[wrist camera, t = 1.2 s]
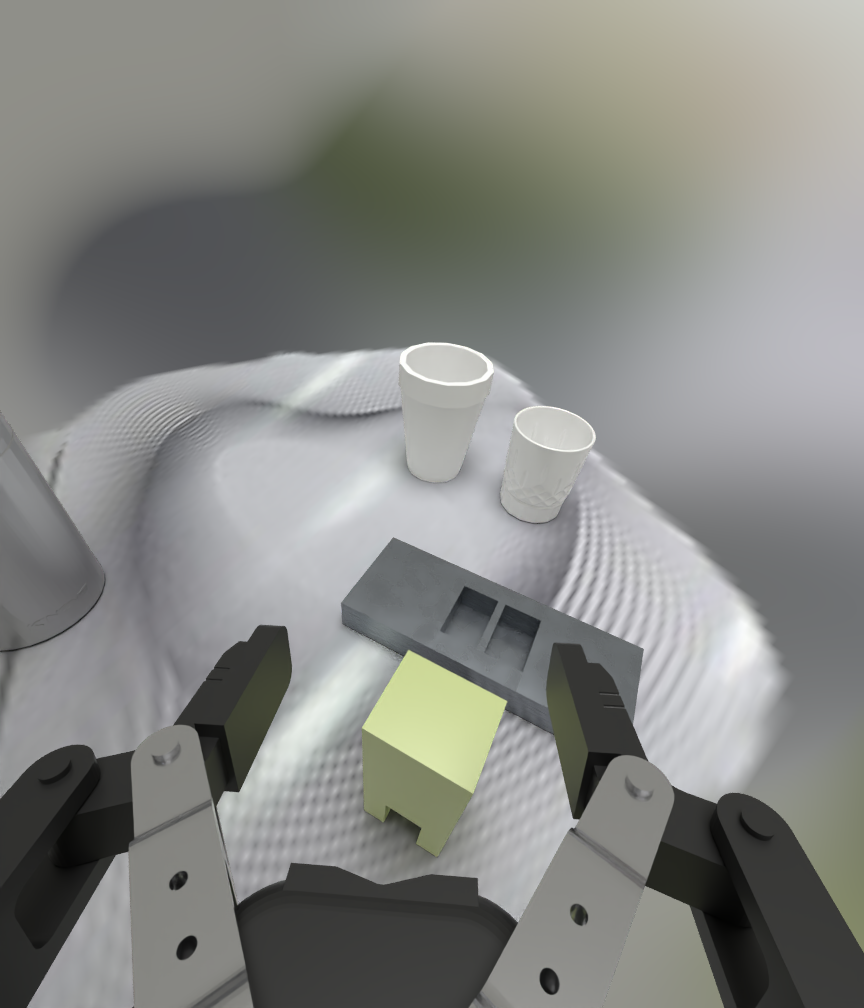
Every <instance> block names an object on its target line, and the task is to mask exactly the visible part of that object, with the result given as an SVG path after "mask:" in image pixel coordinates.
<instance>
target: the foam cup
mask: <svg viewBox="0 0 864 1008" xmlns="http://www.w3.org/2000/svg"><path fill="white" fill-rule="evenodd" d="M493 374H494V370H493V365H492V362H491V361H490V360H489V359H487V358H486V357H485V356H484V355H483V354H482V353H479V352H477V351H475V350H472V349H470V348H468V347H464V346H459V345H454V344H449V343H424V344H420V345H415V346H411V347H410V348H408V349H407V350H405V351H404V352H402V353H401V357H400V365H399V386H400V387H401V397H402V409H403V421H404V433H405V445H406V456H407V463H408V469H409V470H410V472H411V473H412V475H414V476H416V477H417V478H419V479H421V480H423V481H428V482H432V483H439V482H447V481H449V480H451V479H454V478H455V477H456V476H457V474H458V473H459V472H460V469H461V467H462V464H463V461H464V458H465V456H466V453H467V450H468V447H469V444H470V441H471V439H472V436H473V433H474V430H475V427H476V424H477V422H478V419H479V416H480V413H481V410H482V407H483V405H484V402H485V399H486V397H487V396H488V395H489V393H490V388H491V384H492V379H493Z"/></svg>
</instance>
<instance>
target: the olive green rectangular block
mask: <svg viewBox="0 0 864 1008" xmlns="http://www.w3.org/2000/svg"><path fill="white" fill-rule="evenodd" d="M506 703H507V701H506V700H504V699H502V698H500V697H498V696H496V695H495V694H493V693H491V692H489V691H487V690H485V689H483V688H481V687H479V686H477V685H475V684H473V683H471V682H469V681H468V680H466V679H464V678H462V677H460V676H458V675H456V674H454V673H452V672H450V671H448V670H446V669H444V668H442V667H441V666H439V665H437V664H435V663H433V662H431V661H429V660H427V659H425V658H423V657H421V656H419V655H417V654H415V653H414V652H412V651H410V650H408V652H407V653H406V655H405V657H404V658H403V660H402V662H401V663H400V665H399V667H398V668H397V670H396V672H395V673H394V675H393V677H392V678H391V680H390V682H389V683H388V685H387V687H386V689H385V690H384V692H383V694H382V695H381V697H380V699H379V700H378V702H377V704H376V705H375V707H374V709H373V710H372V712H371V714H370V715H369V717H368V719H367V720H366V722H365V724H364V725H363V727H362V749H363V788H364V810H365V811H366V812H368V813H369V814H371V815H372V816H374V817H376V818H377V819H379V820H380V821H382V822H383V823H384V822H385V819H386V817H387V815H388V813H389V811H390V809H392V810H394V811H396V812H397V813H399V814H400V815H402V816H403V817H405V818H407V819H408V820H410V821H411V822H413V823H414V824H416V825H418V826H419V827H421V831H420V834H419V837H418V840H417V842H416V844H417V845H419V846H420V847H422V848H423V849H425V850H426V851H428V852H429V853H431V854H433V855H434V856H436V857H438V855H439V854H440V852H441V850H442V848H443V847H444V845H445V843H446V841H447V839H448V838H449V836H450V834H451V832H452V831H453V829H454V827H455V825H456V823H457V822H458V820H459V818H460V816H461V815H462V813H463V811H464V809H465V807H466V806H467V804H468V802H469V800H470V799H471V797H472V795H473V793H474V790H475V788H476V785H477V782H478V779H479V777H480V774H481V771H482V769H483V766H484V763H485V760H486V758H487V755H488V752H489V750H490V747H491V744H492V741H493V739H494V736H495V733H496V731H497V728H498V725H499V722H500V720H501V717H502V714H503V712H504V709H505V706H506Z"/></svg>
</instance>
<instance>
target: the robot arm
mask: <svg viewBox="0 0 864 1008" xmlns="http://www.w3.org/2000/svg"><path fill="white" fill-rule="evenodd" d="M104 583H105V576H104V572H103V569H102V567H101V565H100V563H99V562H98V560H97V559H96V557H95V556H94V554H93V553H92V551H91V550H90V548H89V546H88V545H87V543H86V542H85V540H84V539H83V537H82V535H81V534H80V532H79V531H78V529H77V527H76V526H75V524H74V523H73V521H72V520H71V518H70V517H69V515H68V514H67V512H66V510H65V509H64V507H63V506H62V504H61V503H60V501H59V500H58V498H57V497H56V495H55V494H54V492H53V490H52V489H51V487H50V486H49V484H48V483H47V481H46V480H45V478H44V477H43V475H42V474H41V472H40V470H39V469H38V467H37V466H36V464H35V463H34V461H33V460H32V458H31V457H30V455H29V453H28V452H27V450H26V449H25V447H24V446H23V444H22V443H21V441H20V440H19V438H18V437H17V435H16V433H15V432H14V431H13V429H12V427H11V426H10V424H9V423H8V422H7V420H6V419H5V417H4V416H3V414H2V412H1V411H0V651H1V650H13V649H18V648H22V647H26V646H31V645H33V644H36V643H39V642H41V641H44V640H47V639H49V638H51V637H53V636H55V635H57V634H58V633H60V632H62V631H64V630H65V629H67V628H68V627H70V626H71V625H73V624H74V623H76V622H77V621H78V620H79V619H80V618H81V617H83V616H84V615H85V614H86V613H87V612H88V611H89V610H90V609H91V607H92V606H93V605H94V604H95V603H96V601H97V600H98V598H99V596H100V594H101V593H102V590H103V586H104ZM291 673H292V663H291V656H290V648H289V640H288V633H287V629H286V627H285V626H272V625H259V626H258V627H257V628H256V629H255V631H254V633H253V634H252V636H251V637H250V639H249V640H248V642H243V641H239V642H238V643H236V644H235V645H234V646H233V647H231V648H230V649H229V650H227V651H226V652H225V653H224V654H223V655H222V657H221V658H220V659H219V661H218V662H217V664H216V665H215V667H214V670H212V671H211V672H210V674H209V675H208V677H207V678H206V681H204V682H203V684H202V685H201V686H200V688H199V689H198V691H197V692H196V694H195V695H194V696H193V698H192V699H191V701H190V702H189V704H188V705H187V706H186V708H185V709H184V711H183V712H182V713H181V715H180V716H179V718H178V719H177V721H176V722H175V723H174V725H173V726H169V727H166V728H163V729H161V730H159V731H157V732H155V733H154V734H152V735H151V736H149V737H148V738H147V739H145V740H144V741H143V742H142V743H141V744H140V745H139V746H138V748H137V749H136V750H134V751H130V752H126V753H121V754H117V755H112V756H107V757H103V758H98V759H96V758H95V755H94V753H93V751H92V749H91V748H89V747H88V746H85V745H70V746H66V747H63V748H60V749H57V750H55V751H53V752H51V753H49V754H47V755H45V756H43V757H42V758H40V759H39V760H37V761H36V762H35V763H34V764H32V765H31V766H30V767H29V768H28V769H27V770H26V771H25V772H24V773H23V774H22V775H21V776H20V778H19V779H18V780H17V781H16V782H15V783H14V784H13V785H12V787H11V788H10V789H9V790H8V791H7V792H6V793H5V794H4V796H3V797H2V798H1V799H0V1008H27V1006H28V1004H29V1002H30V1001H31V999H32V997H33V996H34V994H35V992H36V991H37V989H38V987H39V985H40V984H41V982H42V980H43V979H44V977H45V975H46V973H47V972H48V970H49V968H50V967H51V965H52V963H53V961H54V960H55V958H56V956H57V955H58V953H59V951H60V950H61V948H62V946H63V944H64V943H65V941H66V939H67V938H68V936H69V934H70V932H71V931H72V929H73V927H74V926H75V924H76V922H77V920H78V919H79V917H80V915H81V914H82V912H83V910H84V909H85V907H86V905H87V903H88V902H89V900H90V898H91V897H92V895H93V893H94V891H95V890H96V888H97V886H98V885H99V883H100V881H101V879H102V878H103V876H104V874H105V873H106V871H107V869H108V868H109V866H110V864H111V862H112V861H113V859H114V857H115V856H116V855H117V854H121V853H125V852H128V851H129V882H130V909H131V936H132V963H133V990H134V1006H133V1007H132V1008H602V1007H603V1004H604V1001H605V998H606V996H607V993H608V990H609V987H610V984H611V982H612V978H613V976H614V973H615V970H616V967H617V964H618V962H619V959H620V956H621V953H622V950H623V947H624V944H625V942H626V938H627V936H628V933H629V930H630V927H631V924H632V921H633V919H634V916H635V913H636V910H637V907H638V904H639V901H640V899H641V896H642V893H643V890H644V887H645V886H647V887H649V888H652V889H654V890H656V891H659V892H661V893H663V894H665V895H667V896H670V897H672V898H674V899H677V900H679V901H681V902H683V903H686V904H688V905H690V908H691V911H692V914H693V917H694V919H695V923H696V926H697V928H698V931H699V934H700V937H701V940H702V943H703V946H704V949H705V952H706V955H707V958H708V961H709V964H710V967H711V970H712V972H713V976H714V979H715V981H716V985H717V987H718V990H719V993H720V996H721V999H722V1002H723V1005H724V1008H864V953H863V951H862V949H861V947H860V946H859V944H858V942H857V941H856V939H855V937H854V936H853V934H852V932H851V930H850V929H849V927H848V925H847V924H846V922H845V920H844V919H843V917H842V915H841V914H840V912H839V910H838V908H837V907H836V905H835V903H834V902H833V900H832V898H831V896H830V895H829V893H828V891H827V890H826V888H825V886H824V885H823V883H822V881H821V879H820V878H819V876H818V874H817V873H816V871H815V869H814V868H813V866H812V864H811V863H810V861H809V859H808V858H807V856H806V854H805V852H804V850H803V849H802V847H801V846H800V844H799V842H798V840H797V839H796V837H795V835H794V833H793V832H792V830H791V829H790V827H789V826H788V824H787V823H786V822H785V821H784V820H783V819H782V818H781V817H780V815H779V814H777V813H776V812H775V811H774V810H773V809H772V808H770V807H769V806H767V805H766V804H764V803H763V802H761V801H759V800H758V799H756V798H753V797H751V796H748V795H745V794H740V793H729V794H726V795H724V796H722V797H721V798H720V799H719V801H718V803H717V804H716V803H713V802H710V801H707V800H705V799H702V798H699V797H696V796H694V795H691V794H688V793H686V792H683V791H681V790H679V789H677V788H675V787H674V786H672V785H671V784H670V782H669V780H668V779H667V778H666V776H665V775H664V774H663V773H662V772H661V771H660V770H659V769H658V768H657V767H656V766H655V765H653V764H651V763H650V762H649V761H648V759H647V758H646V755H645V753H644V750H643V748H642V746H641V743H640V741H639V739H638V736H637V734H636V731H635V729H634V727H633V724H632V722H631V720H630V717H629V715H628V712H627V710H626V709H625V705H624V703H623V701H622V698H621V696H619V691H618V689H617V686H616V684H615V682H614V679H613V677H612V676H611V675H610V674H609V673H608V672H607V671H606V670H605V669H604V668H603V666H602V665H601V664H600V663H588V662H587V659H586V656H585V654H584V651H583V648H582V646H581V645H580V644H574V643H557V642H555V643H553V646H552V651H551V657H550V664H549V670H548V676H547V683H546V697H547V704H548V709H549V714H550V718H551V722H552V727H553V731H554V736H555V740H556V745H557V749H558V754H559V758H560V763H561V767H562V772H563V776H564V781H565V785H566V789H567V794H568V798H569V803H570V807H571V812H572V816H573V819H580V820H579V822H578V824H577V825H576V827H575V828H574V829H573V828H571V829H570V830H569V831H568V832H567V834H566V836H565V837H564V839H563V841H562V843H561V845H560V847H559V848H558V850H557V852H556V854H555V856H554V858H553V860H552V861H551V863H550V865H549V867H548V869H547V871H546V873H545V874H544V876H543V878H542V880H541V882H540V884H539V885H538V887H537V889H536V891H535V893H534V895H533V897H532V898H531V900H530V902H529V904H528V906H527V908H526V910H525V911H524V913H523V915H522V917H521V919H520V921H519V923H518V922H517V921H516V920H515V919H514V918H513V917H512V916H511V915H510V914H509V913H507V912H506V911H505V910H503V909H502V908H501V907H500V906H498V905H497V904H495V903H493V902H491V901H490V900H488V899H486V898H484V897H481V896H479V895H478V878H469V877H457V876H445V875H433V874H431V875H426V876H422V877H417V878H413V879H408V880H404V881H400V882H395V883H391V884H386V885H380V884H376V883H374V882H372V881H369V880H367V879H364V878H362V877H360V876H357V875H355V874H353V873H350V872H348V871H345V870H343V869H341V868H338V867H335V866H323V865H311V864H298V863H291V865H290V868H289V871H288V875H287V878H286V880H284V881H280V882H277V883H274V884H272V885H269V886H267V887H265V888H263V889H261V890H259V891H257V892H255V893H254V894H252V895H251V896H249V897H248V898H246V899H244V900H243V901H242V902H241V903H238V899H237V895H236V891H235V887H234V882H233V878H232V874H231V869H230V864H229V860H228V855H227V851H226V846H225V841H224V837H223V832H222V828H221V823H220V818H219V814H218V809H217V804H218V802H219V800H220V798H221V796H222V794H223V792H224V791H229V792H240V789H241V787H242V785H243V783H244V781H245V779H246V776H247V774H248V772H249V770H250V768H251V766H252V764H253V761H254V759H255V757H256V755H257V753H258V751H259V749H260V746H261V744H262V742H263V740H264V738H265V736H266V734H267V731H268V729H269V727H270V725H271V723H272V721H273V719H274V716H275V714H276V712H277V710H278V708H279V706H280V703H281V701H282V699H283V697H284V695H285V693H286V691H287V688H288V686H289V683H290V679H291Z"/></svg>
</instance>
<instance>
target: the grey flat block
mask: <svg viewBox="0 0 864 1008" xmlns="http://www.w3.org/2000/svg"><path fill="white" fill-rule="evenodd" d="M341 607H342V621H343V624H344V625H346V626H348V627H350V628H351V629H353V630H355V631H357V632H359V633H361V634H363V635H365V636H367V637H369V638H371V639H372V640H374V641H376V642H378V643H380V644H382V645H384V646H386V647H388V648H390V649H392V650H393V651H395V652H397V653H399V654H401V655H403V656H405V655H406V653H407V652H408V650H410V651H412V652H414V653H415V654H417V655H419V656H421V657H423V658H425V659H427V660H429V661H431V662H433V663H435V664H437V665H439V666H441V667H442V668H444V669H446V670H448V671H450V672H452V673H454V674H456V675H458V676H460V677H462V678H464V679H466V680H468V681H469V682H471V683H473V684H475V685H477V686H479V687H481V688H483V689H485V690H487V691H489V692H491V693H493V694H495V695H496V696H498V697H500V698H502V699H504V700H506V701H507V703H506V706H505V709H506V710H508V711H510V712H512V713H514V714H515V715H517V716H519V717H521V718H523V719H525V720H527V721H529V722H531V723H533V724H535V725H536V726H538V727H540V728H542V729H544V730H546V731H548V732H550V733H552V734H554V731H553V727H552V722H551V718H550V714H549V709H548V704H547V697H546V683H547V676H548V670H549V664H550V657H551V651H552V646H553V643H555V642H557V643H574V644H580V645H581V646H582V648H583V651H584V654H585V656H586V659H587V662H588V663H600V664H601V665H602V666H603V668H604V669H605V670H606V671H607V672H608V673H609V674H610V675H611V676H612V677H613V679H614V682H615V684H616V686H617V689H618V691H619V696H621V698H622V701H623V703H624V705H625V709H626V710H627V712H628V715H629V717H630V720H631V722H632V724H633V720H634V713H635V706H636V699H637V692H638V685H639V678H640V671H641V664H642V657H643V650H644V649H643V648H640V647H638V646H636V645H634V644H631V643H629V642H627V641H625V640H622V639H620V638H618V637H616V636H613V635H611V634H609V633H607V632H604V631H602V630H600V629H598V628H595V627H593V626H591V625H589V624H586V623H584V622H582V621H580V620H577V619H575V618H573V617H571V616H569V615H566V614H564V613H562V612H560V611H557V610H555V609H553V608H551V607H548V606H546V605H544V604H542V603H539V602H537V601H535V600H533V599H530V598H528V597H526V596H524V595H521V594H519V593H517V592H515V591H512V590H510V589H508V588H506V587H503V586H501V585H499V584H497V583H494V582H492V581H490V580H488V579H485V578H483V577H481V576H479V575H477V574H474V573H472V572H470V571H468V570H465V569H463V568H461V567H459V566H456V565H454V564H452V563H450V562H447V561H445V560H443V559H441V558H438V557H436V556H434V555H432V554H429V553H427V552H425V551H423V550H420V549H418V548H416V547H414V546H411V545H409V544H407V543H405V542H402V541H400V540H398V539H396V538H394V537H393V538H392V540H391V541H390V542H389V543H388V545H387V546H386V547H385V548H384V550H383V551H382V552H381V553H380V555H379V556H378V557H377V558H376V560H375V561H374V562H373V564H372V565H371V566H370V567H369V569H368V570H367V571H366V572H365V574H364V575H363V576H362V577H361V579H360V580H359V581H358V582H357V584H356V585H355V586H354V587H353V589H352V590H351V591H350V592H349V594H348V595H347V596H346V597H345V599H344V600H343V601H342V602H341Z"/></svg>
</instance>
